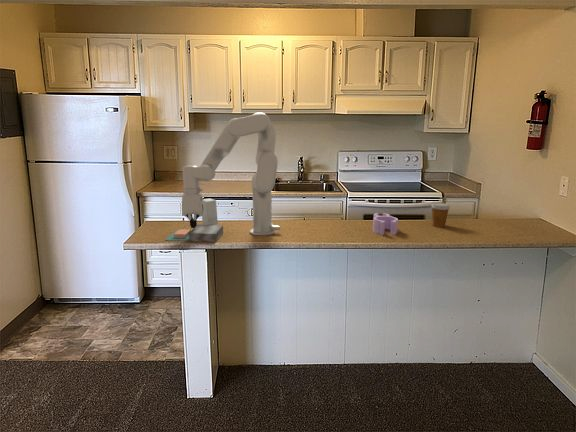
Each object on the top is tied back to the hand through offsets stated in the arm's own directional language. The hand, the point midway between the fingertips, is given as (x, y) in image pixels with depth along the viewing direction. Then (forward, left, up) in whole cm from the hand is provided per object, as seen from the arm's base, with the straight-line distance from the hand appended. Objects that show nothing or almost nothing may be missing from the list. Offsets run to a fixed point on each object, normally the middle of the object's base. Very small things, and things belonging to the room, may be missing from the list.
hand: (193, 227), depth 222 cm
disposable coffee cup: (-127, -32, -5) cm, 131 cm away
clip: (-96, -21, -5) cm, 98 cm away
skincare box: (-3, -20, -5) cm, 21 cm away
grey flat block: (-7, 0, -5) cm, 8 cm away
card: (+6, 0, -2) cm, 6 cm away
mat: (+6, 0, -5) cm, 8 cm away
